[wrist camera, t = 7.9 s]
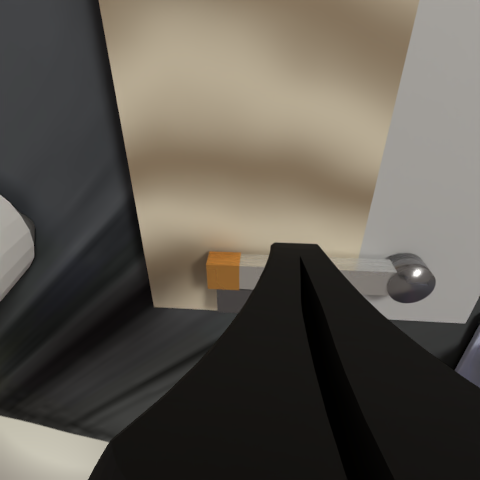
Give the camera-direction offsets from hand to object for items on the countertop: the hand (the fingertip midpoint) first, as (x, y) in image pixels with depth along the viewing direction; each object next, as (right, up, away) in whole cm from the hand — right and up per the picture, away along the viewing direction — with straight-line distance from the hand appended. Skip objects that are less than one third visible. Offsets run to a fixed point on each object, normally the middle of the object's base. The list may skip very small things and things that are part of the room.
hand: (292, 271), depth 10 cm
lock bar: (+3, -1, +9) cm, 10 cm away
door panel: (-1, +5, +8) cm, 9 cm away
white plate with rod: (+9, +4, +8) cm, 13 cm away
